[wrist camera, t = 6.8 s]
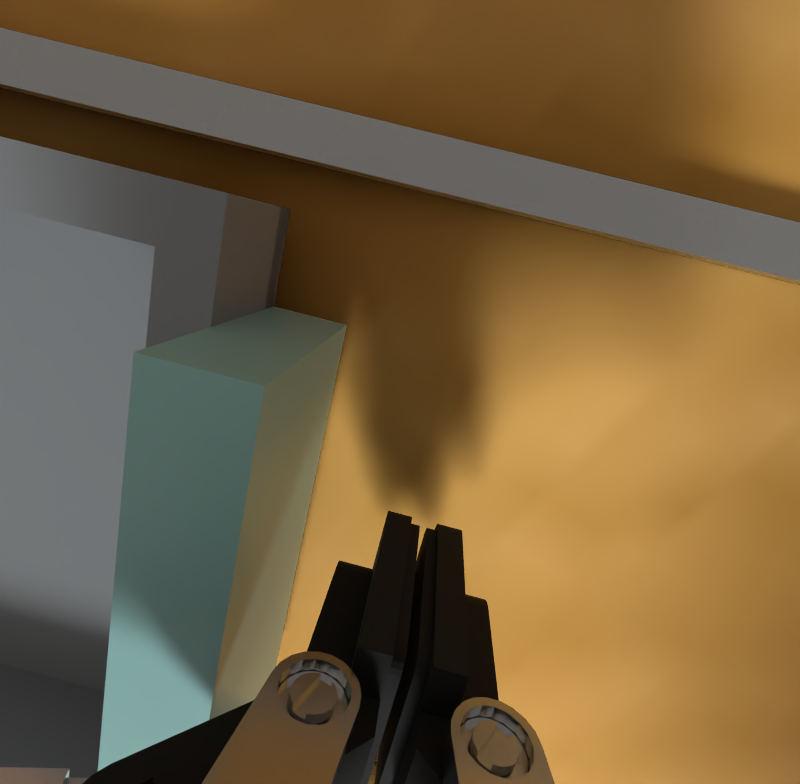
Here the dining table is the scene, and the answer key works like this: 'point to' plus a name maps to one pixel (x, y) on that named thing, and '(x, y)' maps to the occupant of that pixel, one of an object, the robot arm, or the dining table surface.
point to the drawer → (144, 454)
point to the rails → (402, 157)
